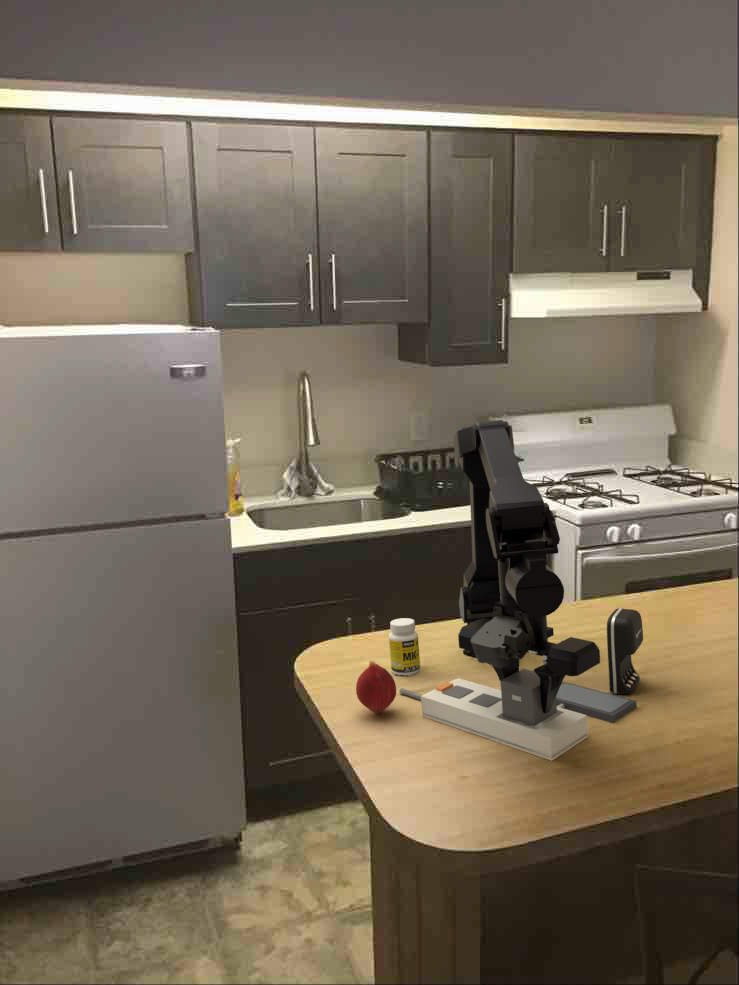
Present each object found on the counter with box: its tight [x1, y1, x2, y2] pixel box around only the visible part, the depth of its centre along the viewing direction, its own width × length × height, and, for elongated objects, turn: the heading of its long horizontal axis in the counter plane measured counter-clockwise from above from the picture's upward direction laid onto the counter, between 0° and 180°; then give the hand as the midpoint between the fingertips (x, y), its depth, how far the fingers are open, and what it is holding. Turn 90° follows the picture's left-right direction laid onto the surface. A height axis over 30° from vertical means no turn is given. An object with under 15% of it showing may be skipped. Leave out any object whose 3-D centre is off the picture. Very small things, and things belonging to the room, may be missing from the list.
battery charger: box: [606, 607, 644, 695], centre depth 122 cm, size 7×4×11 cm, turn 150°
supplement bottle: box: [388, 617, 421, 677], centre depth 137 cm, size 5×5×8 cm
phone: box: [556, 681, 637, 724], centre depth 116 cm, size 12×12×1 cm
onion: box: [355, 659, 397, 715], centre depth 121 cm, size 6×6×8 cm
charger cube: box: [500, 668, 557, 726], centre depth 110 cm, size 5×5×5 cm
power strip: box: [399, 677, 588, 761], centre depth 117 cm, size 30×8×3 cm, turn 43°
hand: (529, 707), depth 110 cm, fingers closed on charger cube, 5 cm apart
